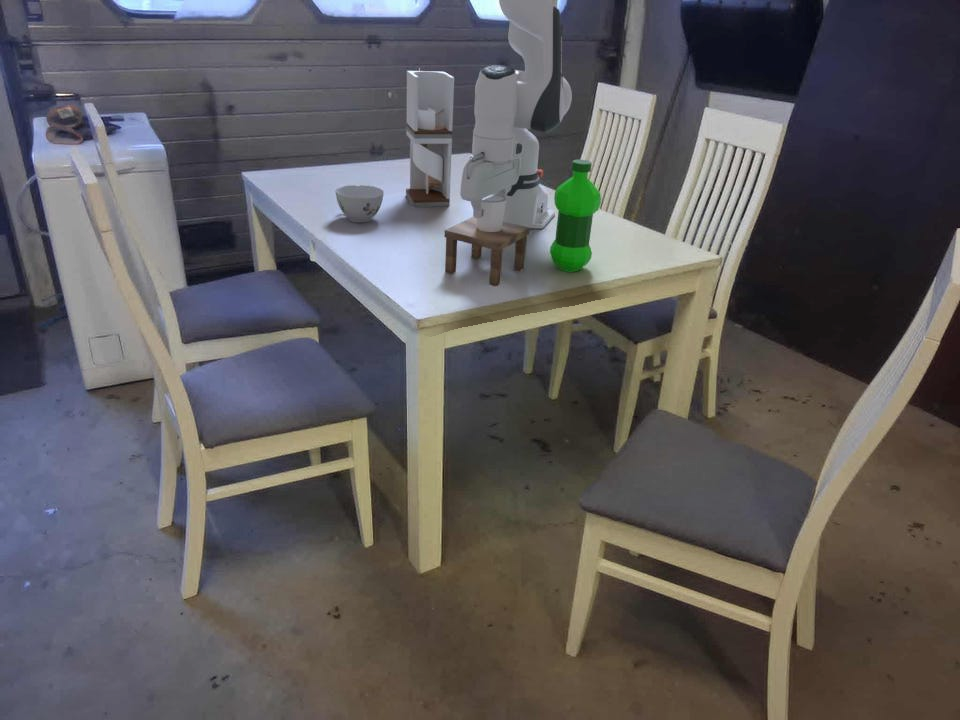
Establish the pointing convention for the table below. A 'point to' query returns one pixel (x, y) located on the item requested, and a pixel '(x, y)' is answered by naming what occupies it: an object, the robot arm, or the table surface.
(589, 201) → the plastic bottle
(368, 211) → the teacup
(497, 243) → the wooden stool
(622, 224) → the table surface
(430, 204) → the display case
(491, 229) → the white cup
